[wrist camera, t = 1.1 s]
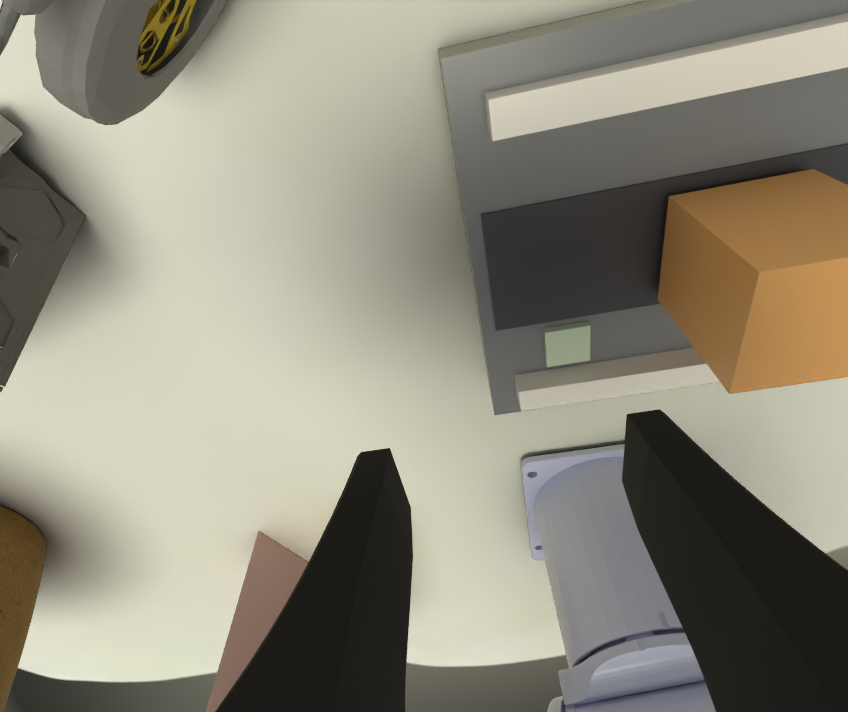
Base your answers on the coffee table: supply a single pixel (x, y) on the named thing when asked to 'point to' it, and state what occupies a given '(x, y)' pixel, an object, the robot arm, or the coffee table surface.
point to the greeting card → (256, 610)
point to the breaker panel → (623, 173)
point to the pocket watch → (111, 49)
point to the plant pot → (17, 590)
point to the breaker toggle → (761, 278)
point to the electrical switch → (27, 247)
